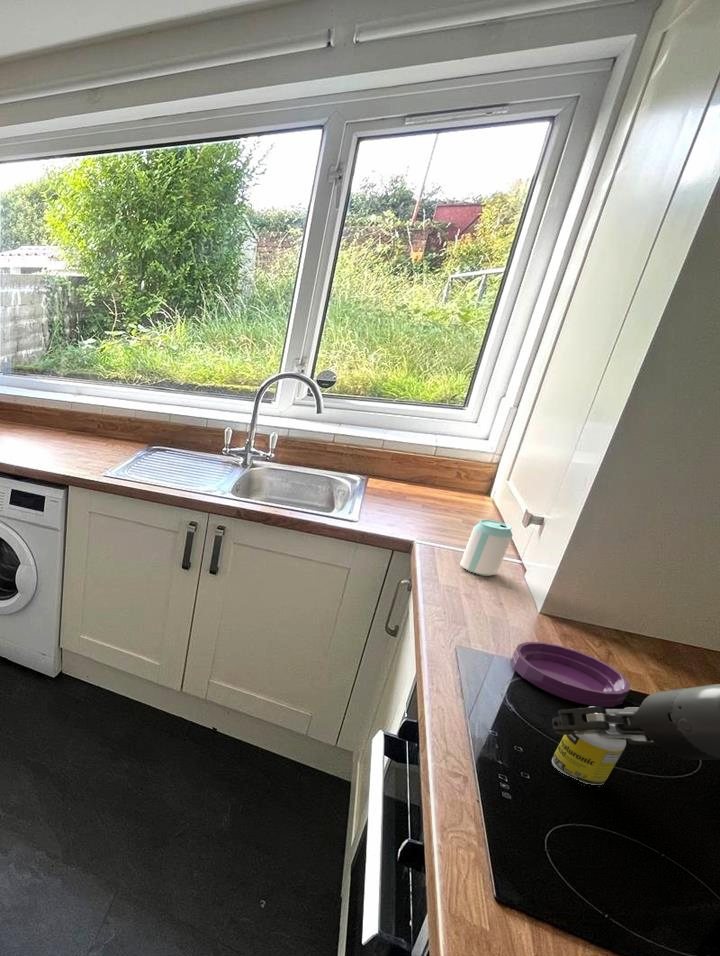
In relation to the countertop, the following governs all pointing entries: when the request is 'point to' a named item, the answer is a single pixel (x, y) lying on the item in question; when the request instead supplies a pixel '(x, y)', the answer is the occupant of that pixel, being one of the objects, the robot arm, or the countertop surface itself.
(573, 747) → the supplement bottle
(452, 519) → the countertop surface
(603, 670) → the dish
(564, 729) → the robot arm
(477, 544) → the can
